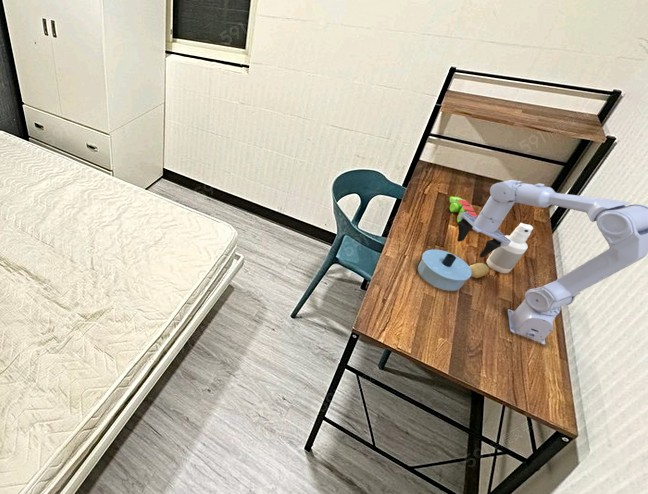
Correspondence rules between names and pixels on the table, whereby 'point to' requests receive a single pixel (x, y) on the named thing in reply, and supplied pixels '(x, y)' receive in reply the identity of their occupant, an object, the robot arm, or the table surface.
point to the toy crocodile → (461, 207)
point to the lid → (446, 265)
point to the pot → (438, 279)
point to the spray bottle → (510, 250)
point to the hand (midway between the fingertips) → (471, 248)
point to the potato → (478, 270)
